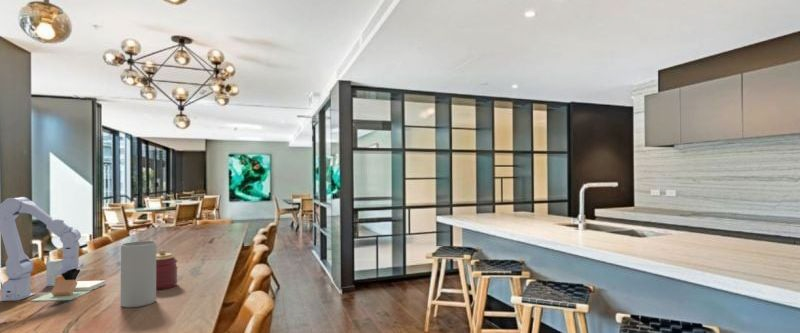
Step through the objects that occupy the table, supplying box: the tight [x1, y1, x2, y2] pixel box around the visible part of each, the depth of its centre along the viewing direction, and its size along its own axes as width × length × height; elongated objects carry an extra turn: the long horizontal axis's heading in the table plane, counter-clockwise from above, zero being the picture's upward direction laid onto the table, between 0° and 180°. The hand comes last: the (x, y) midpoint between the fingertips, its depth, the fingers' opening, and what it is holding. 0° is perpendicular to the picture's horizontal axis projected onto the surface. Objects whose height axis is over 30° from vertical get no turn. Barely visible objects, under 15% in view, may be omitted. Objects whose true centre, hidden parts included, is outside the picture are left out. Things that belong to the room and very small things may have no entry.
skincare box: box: [45, 258, 65, 287], centre depth 200 cm, size 6×4×12 cm
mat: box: [30, 290, 92, 302], centre depth 180 cm, size 13×16×1 cm
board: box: [74, 280, 106, 292], centre depth 193 cm, size 12×14×2 cm
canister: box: [156, 249, 179, 291], centre depth 195 cm, size 13×13×18 cm
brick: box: [50, 279, 78, 296], centre depth 181 cm, size 6×7×3 cm
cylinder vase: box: [119, 240, 157, 309], centre depth 169 cm, size 12×12×25 cm
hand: (70, 286), depth 185 cm, fingers closed
